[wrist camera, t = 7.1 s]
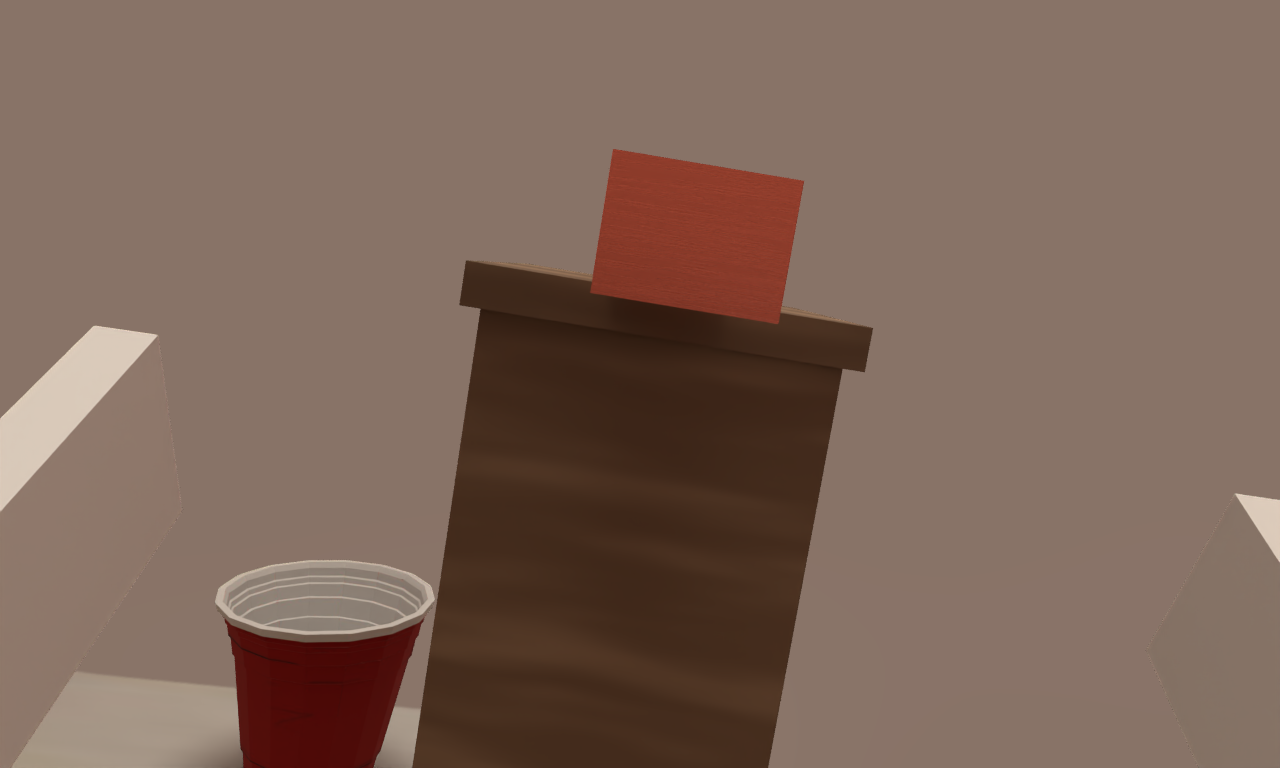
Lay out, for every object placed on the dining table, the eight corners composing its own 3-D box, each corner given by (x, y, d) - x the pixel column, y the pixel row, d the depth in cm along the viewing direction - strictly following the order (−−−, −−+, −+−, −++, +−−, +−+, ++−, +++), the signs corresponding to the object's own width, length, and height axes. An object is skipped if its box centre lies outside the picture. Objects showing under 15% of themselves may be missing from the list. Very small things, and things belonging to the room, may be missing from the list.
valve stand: (684, 1323, 31) (873, 328, 28) (318, 1266, 31) (466, 260, 28) (672, 983, 46) (794, 308, 43) (424, 944, 46) (528, 263, 43)
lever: (831, 332, 18) (876, 92, 17) (537, 284, 18) (574, 41, 17) (724, 296, 42) (742, 195, 41) (599, 276, 42) (615, 174, 41)
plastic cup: (178, 763, 58) (205, 551, 56) (375, 748, 63) (403, 554, 62) (199, 878, 48) (231, 627, 47) (428, 849, 53) (463, 622, 52)
